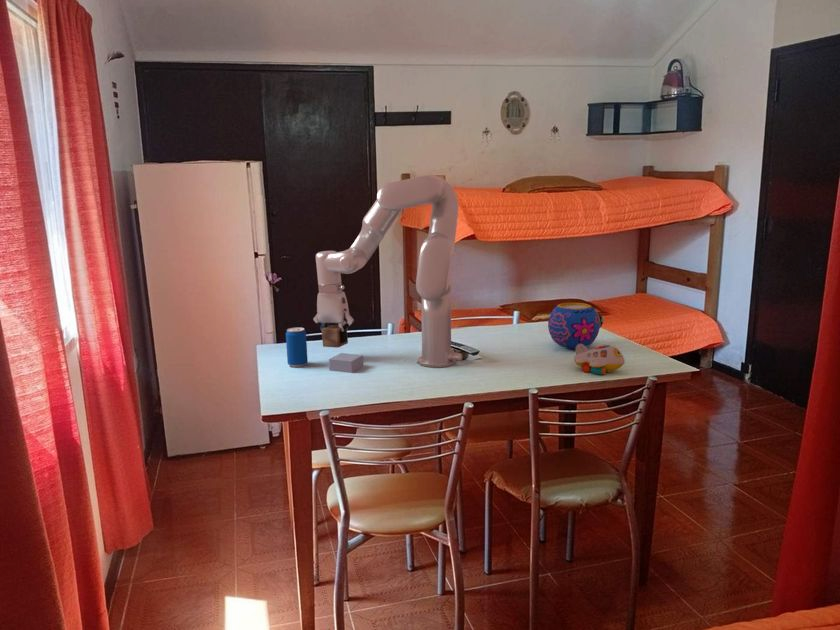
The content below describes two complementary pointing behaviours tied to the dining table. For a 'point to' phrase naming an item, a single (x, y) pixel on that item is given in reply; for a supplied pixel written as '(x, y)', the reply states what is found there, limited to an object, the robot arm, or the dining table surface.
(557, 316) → the ceramic pot
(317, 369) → the dining table surface
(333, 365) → the base block
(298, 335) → the beverage can
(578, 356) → the toy airplane
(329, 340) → the walnut cube
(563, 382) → the dining table surface
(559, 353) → the dining table surface
